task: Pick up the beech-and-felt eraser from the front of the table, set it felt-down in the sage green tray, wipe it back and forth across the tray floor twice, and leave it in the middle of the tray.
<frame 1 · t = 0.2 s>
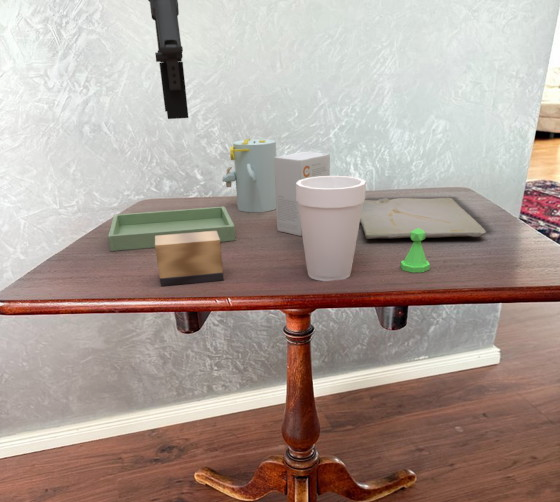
hand: (176, 114, 78), 21 cm above the table, tool pointing down, fingers open, 13 cm apart
decorative slab: (412, 223, 103), on the table
foam cup: (329, 275, 80), on the table
eraser: (191, 277, 80), on the table
small box: (302, 230, 102), on the table
tray: (173, 234, 101), on the table
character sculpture: (251, 208, 118), on the table
game piece: (414, 269, 81), on the table
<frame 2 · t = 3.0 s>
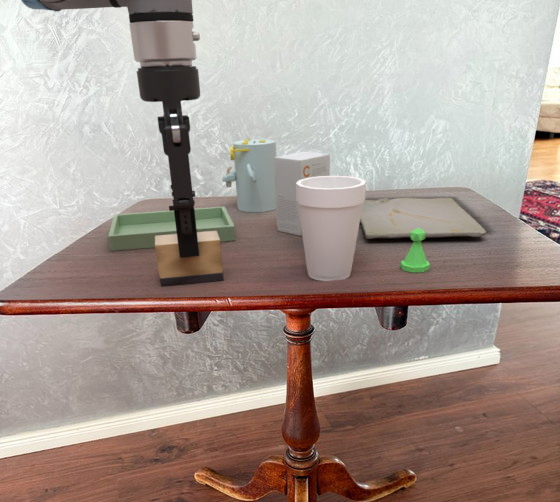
hand: (188, 249, 78), 4 cm above the table, tool pointing down, fingers closed on eraser, 5 cm apart
eraser: (191, 277, 80), on the table, touching gripper
everything else where it was.
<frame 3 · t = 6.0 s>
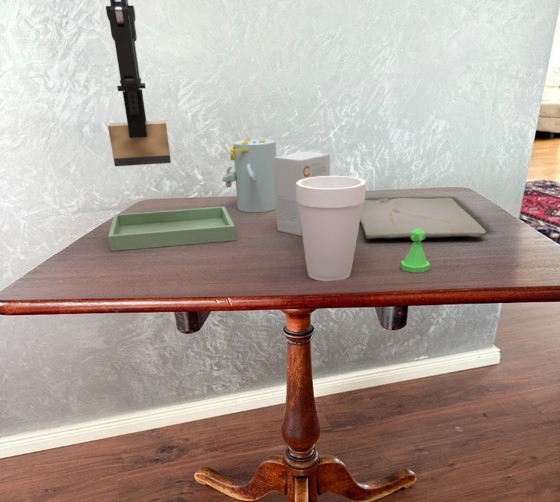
hand: (139, 134, 88), 18 cm above the table, tool pointing down, fingers closed on eraser, 5 cm apart
eraser: (143, 162, 91), point 13 cm above the table, touching gripper
everything else where it was.
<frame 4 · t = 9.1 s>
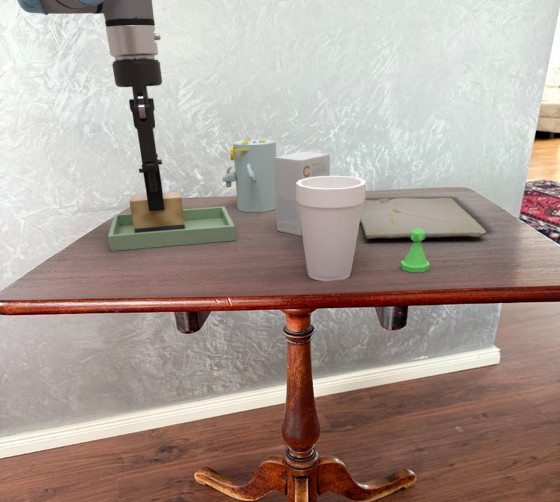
hand: (156, 206, 98), 5 cm above the table, tool pointing down, fingers closed on eraser, 5 cm apart
eraser: (160, 229, 100), point 1 cm above the table, touching gripper
everything else where it was.
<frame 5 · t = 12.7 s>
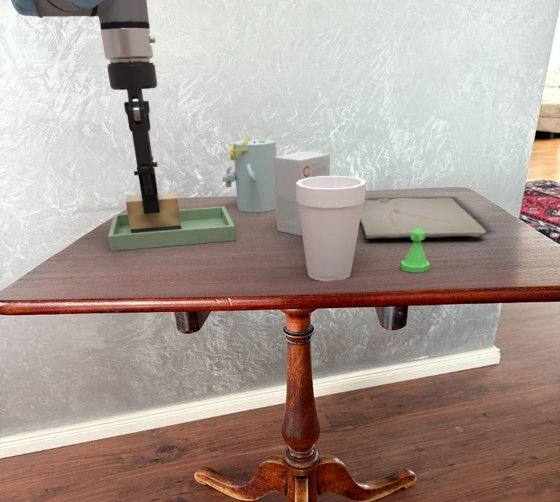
hand: (152, 208, 98), 5 cm above the table, tool pointing down, fingers closed on eraser, 5 cm apart
eraser: (156, 230, 100), point 1 cm above the table, touching gripper
everything else where it was.
when the fingers open (5 cm above the table, at t = 15.6 s): eraser stays where it is, resting on tray.
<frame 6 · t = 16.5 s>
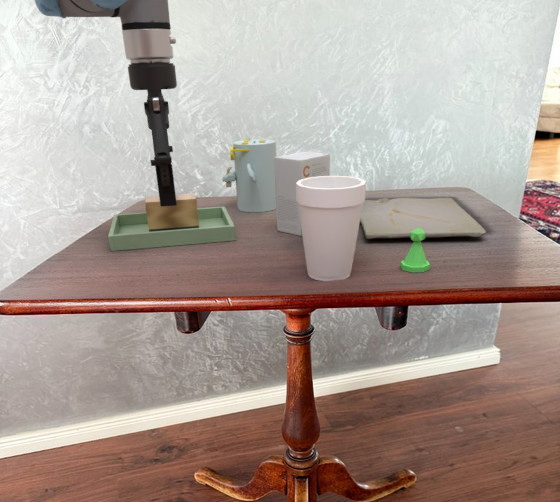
hand: (167, 197, 98), 7 cm above the table, tool pointing down, fingers open, 13 cm apart
eraser: (174, 230, 101), point 1 cm above the table, touching tray
everything else where it was.
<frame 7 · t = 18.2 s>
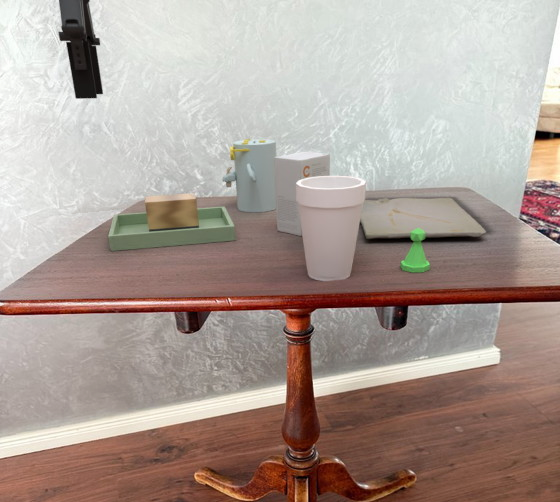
hand: (90, 96, 79), 24 cm above the table, tool pointing down, fingers open, 13 cm apart
nothing on the table moved.
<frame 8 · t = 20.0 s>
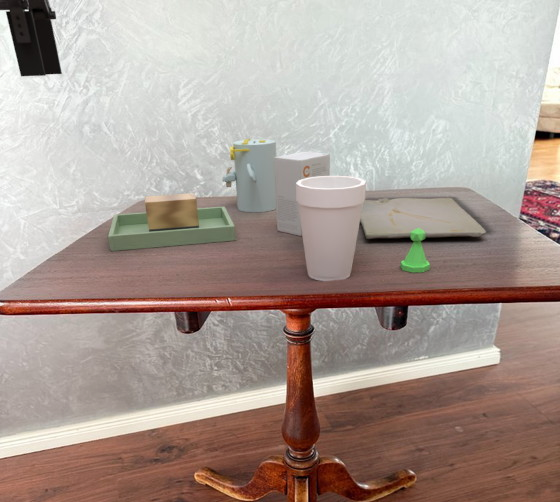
hand: (43, 75, 71), 27 cm above the table, tool pointing down, fingers open, 13 cm apart
nothing on the table moved.
at the end: eraser inside the target area in the tray (0.4 cm from its centre), point 0.6 cm above the tray's base; eraser tilted 0°; the gripper is holding nothing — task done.
